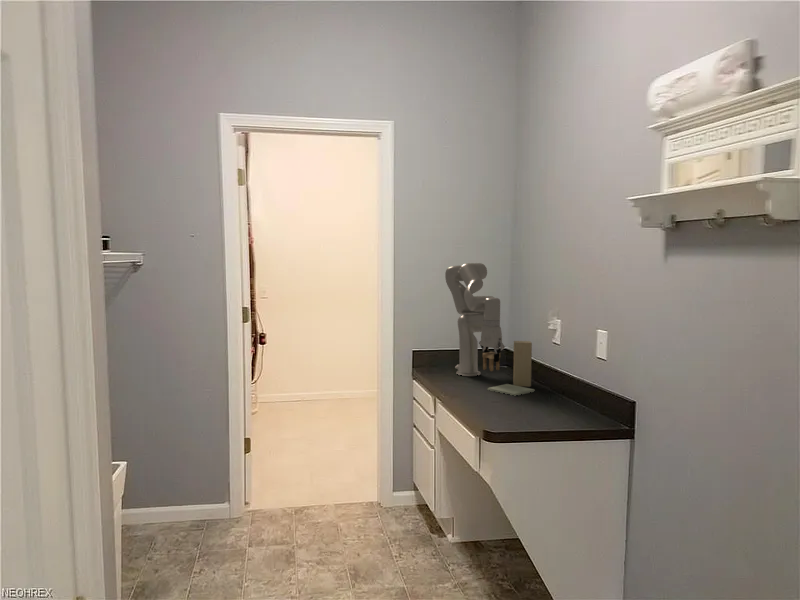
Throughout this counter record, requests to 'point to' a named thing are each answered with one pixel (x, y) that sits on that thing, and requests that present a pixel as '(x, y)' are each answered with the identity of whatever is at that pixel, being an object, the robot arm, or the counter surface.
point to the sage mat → (511, 389)
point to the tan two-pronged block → (490, 360)
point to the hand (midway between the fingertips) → (491, 360)
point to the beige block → (522, 363)
